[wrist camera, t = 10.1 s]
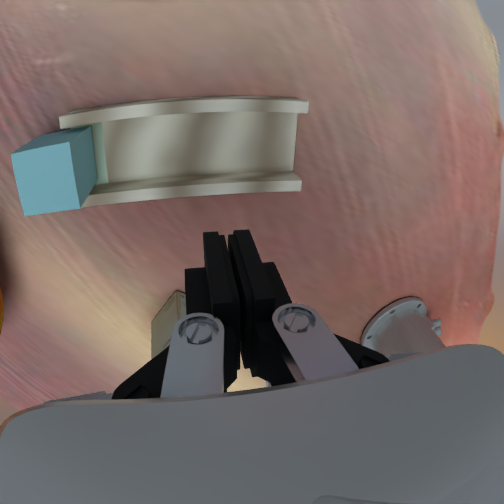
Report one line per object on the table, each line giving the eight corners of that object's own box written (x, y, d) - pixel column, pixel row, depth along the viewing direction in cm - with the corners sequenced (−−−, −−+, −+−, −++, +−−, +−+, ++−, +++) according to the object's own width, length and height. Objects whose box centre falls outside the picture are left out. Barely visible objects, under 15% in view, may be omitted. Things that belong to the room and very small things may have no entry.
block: (91, 125, 23) (69, 141, 18) (97, 180, 25) (80, 208, 21) (40, 135, 22) (10, 154, 17) (49, 187, 25) (24, 216, 20)
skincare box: (176, 288, 35) (182, 377, 25) (208, 303, 37) (224, 390, 27) (150, 323, 37) (150, 409, 27) (181, 335, 39) (189, 419, 29)
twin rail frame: (295, 97, 26) (308, 102, 24) (289, 178, 31) (300, 190, 28) (71, 111, 22) (59, 117, 20) (82, 193, 27) (73, 208, 24)
